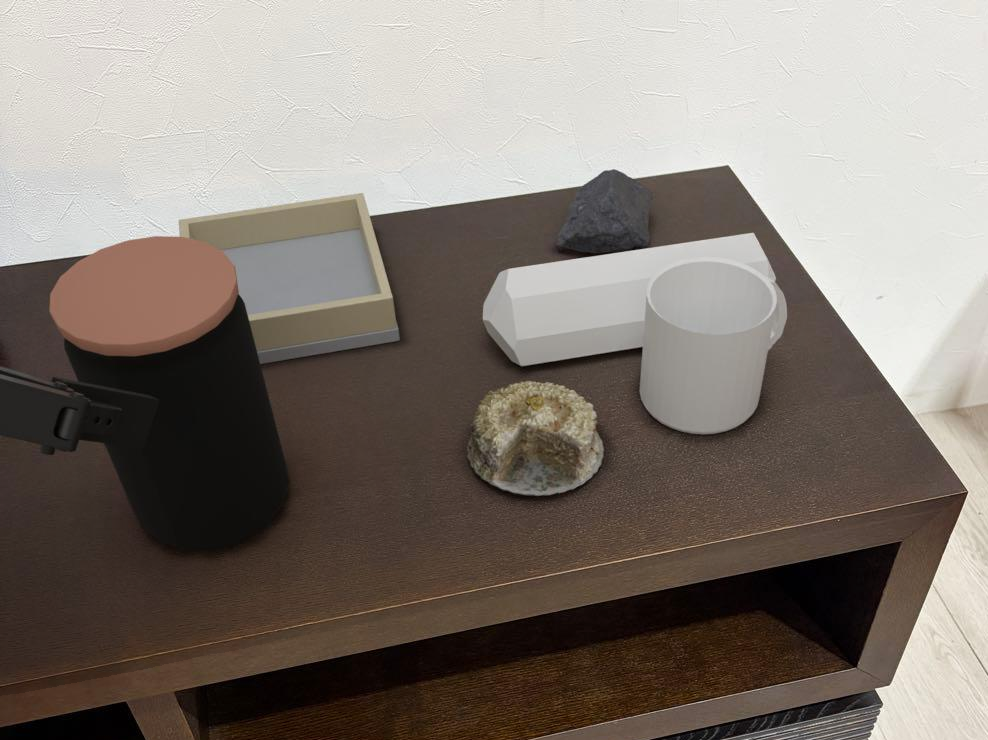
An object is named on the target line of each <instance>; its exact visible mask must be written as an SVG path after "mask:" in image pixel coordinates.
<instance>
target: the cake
mask: <svg viewBox="0 0 988 740" xmlns="http://www.w3.org/2000/svg"><path fill="white" fill-rule="evenodd" d="M597 417H598V415H597V413H596V411H595V410H594V405H593V404H592V403H591V402H587V401H586V400H585V397H583V396H580V394H578V393H577V392H576V390H574V389H569V388H567V387H566V386H565V385H559V384H555V383H554V382H550V381H549V382H548V381H546V382H545V383H544V382H538V381H537V382H536V381H535V380H534V381H532V380H526V381H520V382H519V383H518V382H515V383H510V384H508V385H507V386H506V387H503V386H502V387H501V388H496V390H494V391H492V390H491V389H490V390H489V391H488V392H487V394H484V397H483V399H481V400H479V401H478V405H477V408H476V409H475V412H474V418H473V422H472V423H471V430H470V431H471V434H470V436H469V439H468V441H467V442H466V445H465V446H466V448H465V450H466V453H467V454H466V457H467V460H468V461H469V466H470V467H471V468H472V469H473V471H474V473H475V474H477V476H479V477H480V479H482V480H483V481H484V482H487V483H488V485H491V486H492V487H493V486H494V487H496V488H498V489H499V490H502V491H507V492H508V493H509V492H510V493H511V494H518V495H522V496H536V497H539V496H551V495H554V494H557V493H558V494H561V493H565V492H567V491H570V490H574V489H576V488H577V487H580V486H582V485H584V484H585V483H586V482H587V481H589V480H590V479H591V478H593V476H594V475H595V474H596V473H598V470H599V468H600V467H601V466H602V463H603V462H602V461H603V458H604V456H605V455H604V451H605V449H604V448H605V447H604V444H603V440H602V439H601V437H600V435H599V432H598V430H597V424H598V418H597Z"/></svg>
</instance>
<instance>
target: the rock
mask: <svg viewBox="0 0 988 740" xmlns="http://www.w3.org/2000/svg"><path fill="white" fill-rule="evenodd" d="M653 200H654V193H653V191H652V190H651V189H650V188H648V187H647V186H645V185H643V184H642V183H640V182H637V181H636V179H634V178H633V177H631V176H628V175H627V174H626V173H624V172H622V171H620V170H618V169H615V168H613V169H608V170H603V171H602V172H600V173H599V174H598V175H597V176H595V177H593V178H592V179H590V180H589V181H588V182H586V183H585V184H583V185H582V187H579V188H578V189H577V192H576V194H575V196H574V198H573V200H572V201H571V203H570V205H569V207H568V208H567V213H566V215H565V217H564V224H563V225H562V228H561V229H560V230H559V232H558V234H557V235H556V247H557V248H558V250H560V251H566V250H572V251H577V252H579V253H591V254H595V255H596V254H602V253H619V252H625V251H628V250H632V249H633V248H635V247H640V248H645V247H647V246H648V245H650V243H651V235H650V232H649V220H650V209H649V208H650V205H651V203H652V201H653Z"/></svg>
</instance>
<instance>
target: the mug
mask: <svg viewBox="0 0 988 740" xmlns="http://www.w3.org/2000/svg"><path fill="white" fill-rule="evenodd" d="M787 320H788V307H787V299H786V297H785V294H784V292H783V290H782V289H781V288H780V287H779V285H778V284H777V282H776V281H775V282H774V281H773V280H771V279H770V278H769V277H767V276H764V275H762V274H761V273H760V272H758V271H757V270H755V269H753V268H752V267H749V266H747V265H745V264H742V263H740V262H736V261H732V260H728V259H722V258H713V257H699V258H690V259H685V260H680V261H677V262H674V263H671V264H669V265H667V266H665V267H664V268H662V269H661V270H659V271H658V272H657V273H655V275H654V276H653V277H652V278H651V280H650V281H649V284H648V286H647V296H646V309H645V323H644V336H643V347H642V351H641V366H640V380H639V392H638V393H639V396H640V397H639V398H640V400H641V402H642V405H643V406H644V408H645V409H646V411H647V412H648V413H649V414H650V415H651V417H653V418H654V419H655V420H656V421H658V422H659V423H660V424H663V425H664V426H666V427H667V428H670V429H673V430H675V431H679V432H681V433H687V434H691V435H715V434H719V433H724V432H728V431H731V430H733V429H736V428H737V427H739V426H740V425H742V424H744V423H745V422H746V421H747V420H748V419H749V418H750V417H752V416H753V414H754V413H755V411H756V409H757V408H758V406H759V401H760V397H761V393H762V391H761V390H762V386H763V381H764V375H765V370H766V363H767V359H768V358H767V357H768V353H769V350H771V349H772V348H773V346H774V345H775V344H776V343H777V341H778V340H779V339H780V338H781V337H782V335H783V333H784V330H785V326H786V323H787Z"/></svg>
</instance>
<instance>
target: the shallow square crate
mask: <svg viewBox="0 0 988 740" xmlns="http://www.w3.org/2000/svg"><path fill="white" fill-rule="evenodd" d="M364 194H365V193H363V192H359V193H352V194H347V195H346V194H345V195H339V196H332V197H325V198H319V199H318V198H317V199H312V200H305V201H299V202H298V201H297V202H292V203H285V204H277V205H271V206H264V207H258V208H250V209H243V210H237V211H230V212H222V213H216V214H210V215H203V216H195V217H188V218H182V219H178V231H179V237H185V238H189V239H194V240H198V241H203V242H206V243H208V244H210V245H212V246H213V247H215V248H217V249H219V250H221V251H223V252H224V253H225V255H226V256H227V257H228V258H229V260H230V261H231V262H232V263H233V264H234V266H235V270H236V276H237V283H238V290H239V293H238V294H239V295H240V296H241V298H242V299H243V301H244V303H245V306H246V310H247V314H248V318H249V322H250V326H251V330H252V334H253V338H254V341H255V345H256V349H257V353H258V357H259V361H260V365H263V364H269V363H275V362H282V361H288V360H293V359H299V358H305V357H311V356H317V355H322V354H323V355H324V354H327V353H328V354H329V353H335V352H340V351H346V350H347V351H348V350H352V349H358V348H364V347H369V346H370V347H371V346H376V345H383V344H389V343H393V342H399V341H401V337H400V330H399V326H398V322H397V317H396V309H395V303H394V296H393V293H392V290H391V286H390V281H389V279H388V276H387V272H386V268H385V265H384V261H383V258H382V255H381V250H380V248H379V244H378V240H377V236H376V233H375V230H374V227H373V223H372V219H371V216H370V212H369V209H368V208H369V207H368V205H367V201H366V198H365V195H364Z"/></svg>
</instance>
